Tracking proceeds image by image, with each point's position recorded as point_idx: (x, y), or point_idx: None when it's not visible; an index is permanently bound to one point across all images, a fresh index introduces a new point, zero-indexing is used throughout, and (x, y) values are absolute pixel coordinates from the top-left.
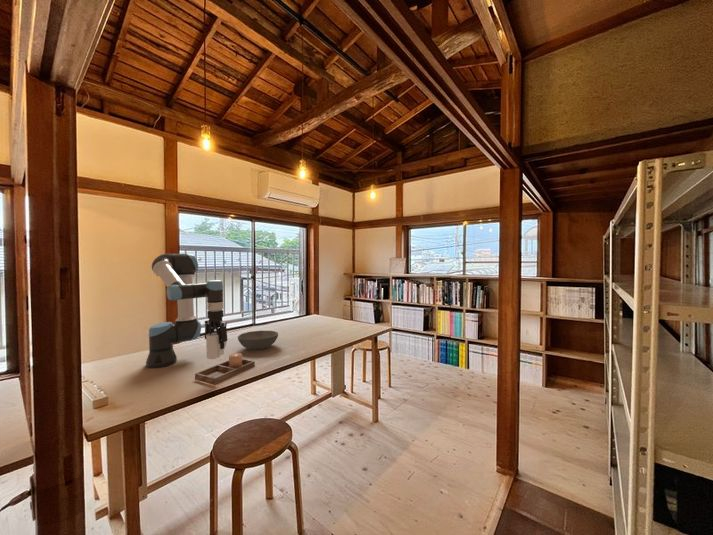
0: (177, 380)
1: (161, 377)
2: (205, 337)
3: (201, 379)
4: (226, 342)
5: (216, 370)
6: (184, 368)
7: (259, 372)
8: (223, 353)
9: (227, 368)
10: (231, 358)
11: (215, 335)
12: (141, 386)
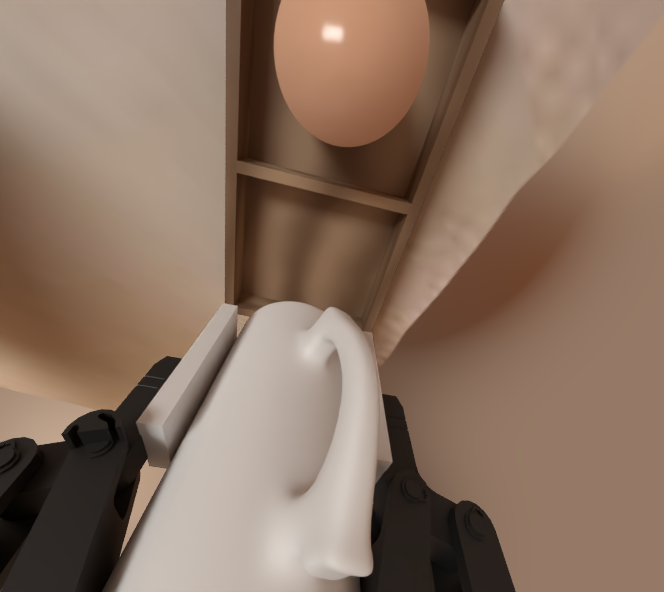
0: (172, 315)
1: (73, 304)
2: (25, 516)
3: None
4: (373, 356)
5: (250, 181)
6: (17, 179)
7: (560, 121)
8: (371, 340)
9: (341, 197)
10: (344, 146)
11: (164, 563)
12: (112, 370)
